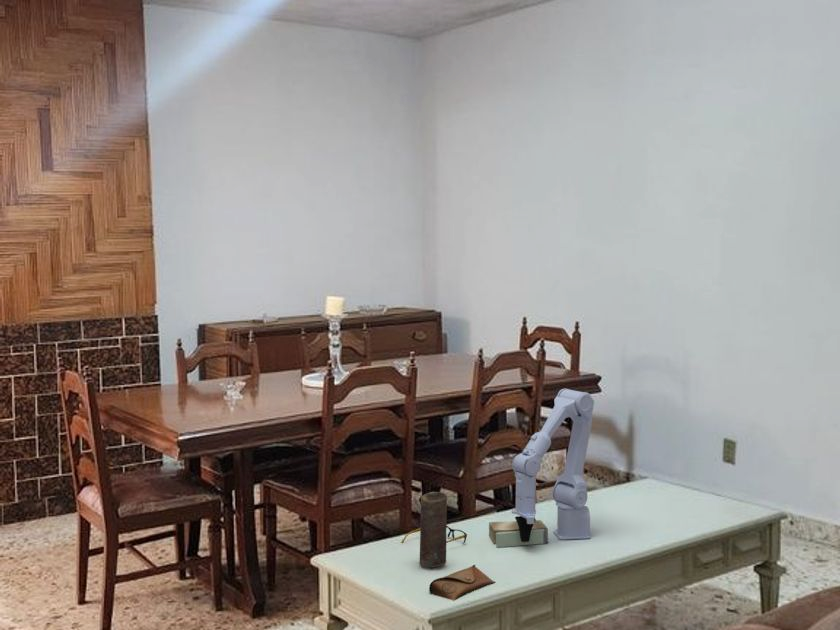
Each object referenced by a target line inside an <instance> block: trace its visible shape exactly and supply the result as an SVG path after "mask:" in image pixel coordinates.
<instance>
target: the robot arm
mask: <svg viewBox="0 0 840 630" xmlns="http://www.w3.org/2000/svg"><path fill="white" fill-rule="evenodd" d="M553 401H554V406H553V408H552V410H551V412H550V413H549V416H548V417H547V418H546V421H545V422H544V424H543V426H542V428H541V430H540V431H538V432H535V433H534V434H532V436H530V440H529V441H528V443H527V445H526V446H525V447H524V448H523V450H522V452H521V453H519V454H517V455H516V456H515V457H514V458H513V461H512V463H511V468H512V470H513V472H514V477H515V509H511V514H513V515H514V514H515V515H517V516H515V517H514V519H515V521H517V524H518V527H519V531H520V538H521V541H522V542H529V539H530V533H531V530H532V527H533V525H534V523H535V521H536V520H537V519H536V514H537V510H536V495H537V493H536V490H537V488H536V486H537V485H536V484H537V483H536V482H537V474H538V473H539V472H540V470H541V467H542V462H543V458H544V456H545V454H547V452H548V450H549V449H550V446H551V445H552V440H551V438H552V437H553V435H554V434H555V433H556V431H557V430H558V429H559V427H560V426H561V425H562V424H563V422H564V421H565V419H567V418H570V419H571V421H572V427H571V433H570V437H569V442H568V443H569V444H568V448H567V454H566V460H565V465H564V469H563V470H564V471H563V473H561V474H560V475H559V476H557V478H556V482H555V484H554V486H553V488H552V491H551V496H552V499H553V500H554V502H555V505H556V506H557V517H556V518H557V519H556V520H557V523H556V526H557V527H556V528H557V529H554V530H553V533H554V534H555V535H556V538H558V539H559V540H561V541H562V540H564V541H565V540H585V539H591V513H590V509H589V507H588V506H585V505H586V504H587V501H588V490H587V489H588V483H587V482H586V480H585V479H584V477H583V472H584V467H585V461H586V456H587V453H588V452H587V451H588V447H589V440H590V435H591V429H592V426H593V425H592V424H593V418H594V416H593V410H594V407H595V406H594V405H595V400H594V398H593V397H592V395H591V394H590V393H589V392H586V391H583V392H582V391H578V390H573V389H569V388H566V387H565V388H562V389H560V390H559V392H558V393H557V395H556V397H555V398H554V400H553Z"/></svg>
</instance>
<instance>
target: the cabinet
mask: <svg viewBox="0 0 840 630" xmlns="http://www.w3.org/2000/svg"><path fill="white" fill-rule="evenodd" d="M539 529H544V530H545V529H548V527H547V526H546V524H545V523H544V522H543V520H542V519H536V521H535V523H534V525H533V527H532V530H539ZM513 531H519V527H518V524H517V521H516V520H513V521H509V520H508V521H490V522H489V523H488V536H489V539H490V540H491V541H492V543H493V545H496V533H500V532H513Z"/></svg>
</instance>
